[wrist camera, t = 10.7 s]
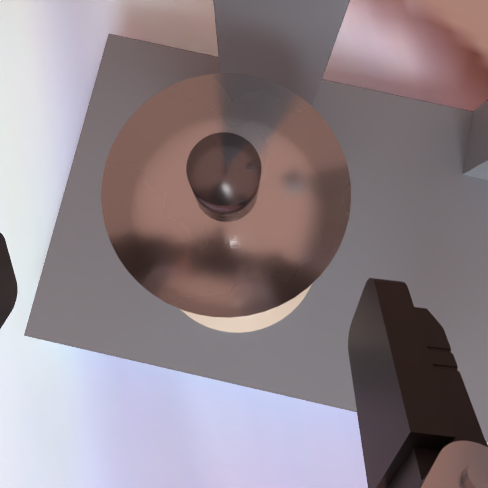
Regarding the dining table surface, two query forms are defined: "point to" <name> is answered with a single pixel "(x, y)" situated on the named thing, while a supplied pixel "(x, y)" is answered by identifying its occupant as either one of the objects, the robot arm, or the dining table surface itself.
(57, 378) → the dining table surface
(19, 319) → the dining table surface
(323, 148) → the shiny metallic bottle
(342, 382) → the press
